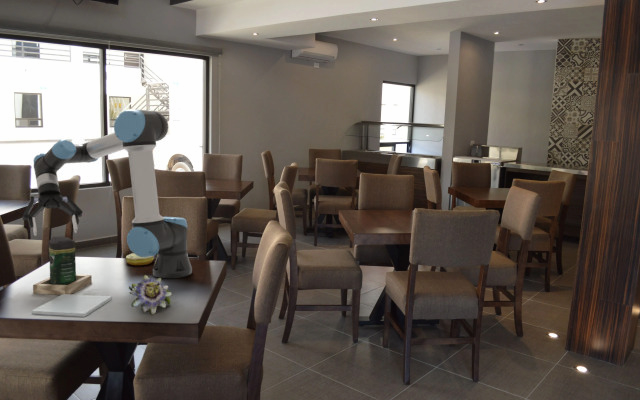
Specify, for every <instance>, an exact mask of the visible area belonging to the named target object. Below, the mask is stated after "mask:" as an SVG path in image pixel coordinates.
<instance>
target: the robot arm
mask: <svg viewBox="0 0 640 400" xmlns="http://www.w3.org/2000/svg"><path fill="white" fill-rule="evenodd" d="M113 130H114V132H112V133H108V134H107V135H104V136H101V137H99V138H96V139H92V140H90V141H88V142H84V143H81V144H80V143H79V144H74V143H73V142H72V141H71V140H68V139H64V138H63V139H62V138H61V139H58V141H57V142H56V143H54V144H53V145H52V146H51V148H50V149H49V150H48V151H47V152H44V153H39V154H37V155H36V156H35V157H33V170H34V174H35V179H36V185H37V186H36V188H37V194H38V197H34V196H30V199H29V200H30V201H29V203H28V204H27V206H26V208H25V210H24V212H23V214H22V221H27V222H28V227H29V228H32V230H33V236H34V237H36V236H37V233H38V231H37V223H36V217H37V216H38V215H39V214H40V213H41V212H42V211H44V209H56V208H58V209H59V210H62V211H64V212H65V213H66V214H68V215H69V216H71V217H72V218H71V220H72V225H73V231H74V233H75V234H77V233H78V230H79V229H78V225H79V223H80V219H79V217H80V218H81V217H83V210H82V209H81V208H80V207H79V206H78V205H77V204H76V202H74V201H73V199H72V198H71V195H69V194H66V196H62V195H61V190H60V185H59V180H58V174H57V172H58V171H59V170H60V169H61V168H63V166H64V165H66V164H77V163H81V164H82V163H94V162H96V161H98V160H99V159H100V158H103V157H105V156H108V155H111V154H114V153H117V152H121V151H123V150H124V151H127V154H128V164H129V171H130V172H129V173H130V180H131V189H132V190H131V191H132V197H133V198H132V199H133V207H134V216H135V217H134V218H133V219H132V221H131V229H130V230H129V232H128V233H127V236H126V242H127V246H128V248H129V250H130V251H131V253H135V255H137V256H139V257H149V256H154V257H155V256H156V258H155V261H154V264H153V268H152V276H153V277H156V278H161V279H179V278H184V277H187V276H190V275H192V273H193V272H192V271H193V267H192V264H191V261H190V259H189V256H188V221H187V219H186V218H184V217H174V216H162V215H161V214H160V205H159V198H158V189H157V180H156V171H155V170H156V169H155V161H154V153H153V151H154V149H155V148H156V147H157V142H159V141H161V140H163V139H165V138H166V136H167V134H168V132H169V123H168V120H167V118H166V117H165V115H163V114H162V113H160V112H158V111H154V110H145V109H144V110H143V109H134V108H133V109H126V110H123V111H121V112H120V113H119V114H118V116H117V117H116V118H115V121H114V124H113ZM64 202H65V203H64ZM36 203H39V204H38V206H37V207H36V208H35V209H34V210H32V209H33V208H34V205H36Z"/></svg>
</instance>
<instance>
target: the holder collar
mask: <svg viewBox="0 0 640 400" xmlns="http://www.w3.org/2000/svg"><path fill="white" fill-rule="evenodd" d="M90 284H92V274H79V273H78V274H77V273H76V281H75V282H73V283H71V284H69V285H51V284H50V276H49V277H47V278H46V279H45V278H44V279H43V280H41V281H39V282H37V283H34V284H33V285H32V292H33V294H36V295H37V294H39V295H40V294H41V295H44V294H45V295H57V296H58V295H59V296H60V295H62V294H72V295H73V294H74V293H77V292H78V291H79V290H81V289H83V288H85V287H87V286H89V285H90Z"/></svg>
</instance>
